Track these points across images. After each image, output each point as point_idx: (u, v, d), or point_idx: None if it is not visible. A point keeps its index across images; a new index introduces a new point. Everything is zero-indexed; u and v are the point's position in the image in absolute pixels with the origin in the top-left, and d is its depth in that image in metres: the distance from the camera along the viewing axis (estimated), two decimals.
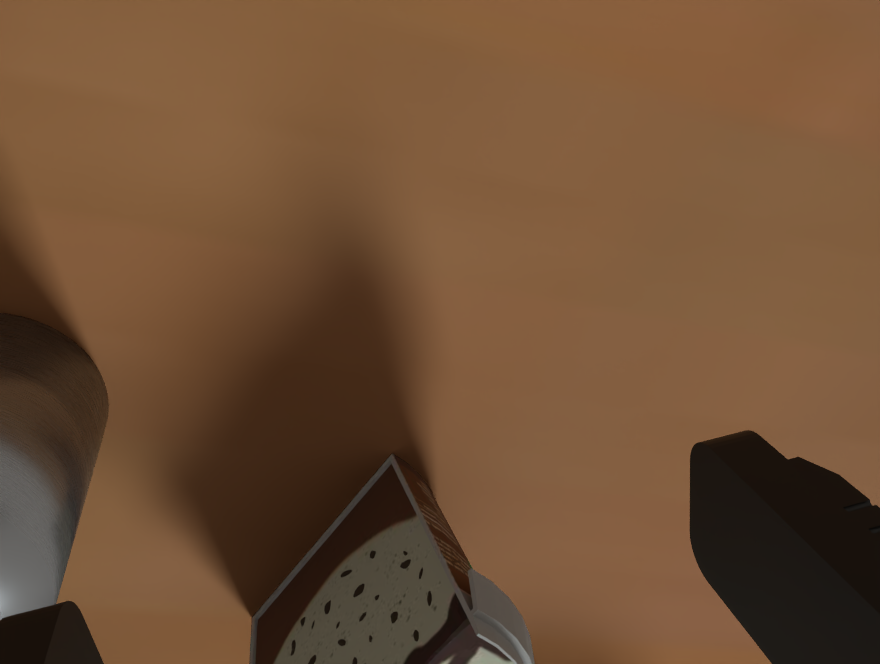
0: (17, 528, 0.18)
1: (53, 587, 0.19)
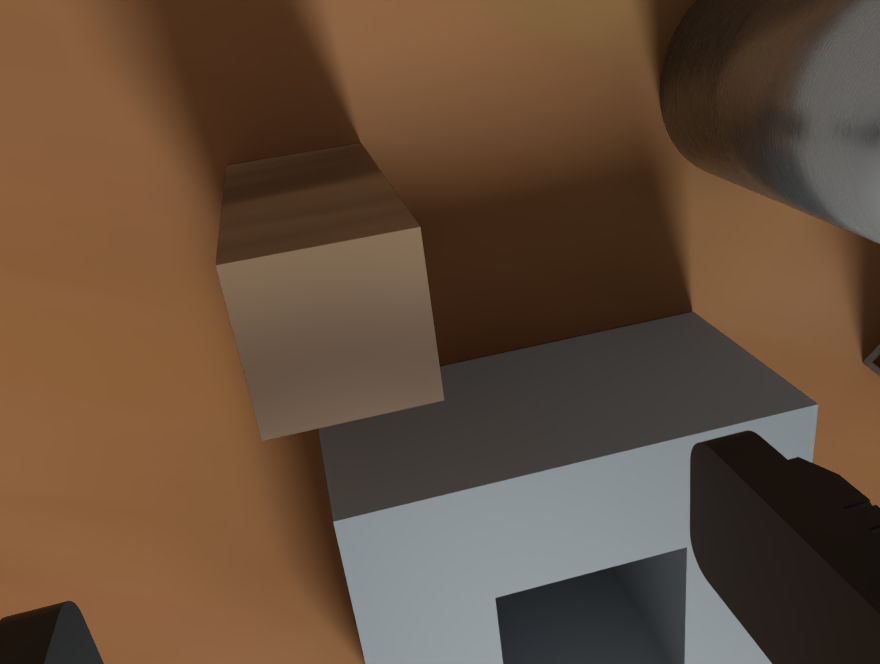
0: None
1: None
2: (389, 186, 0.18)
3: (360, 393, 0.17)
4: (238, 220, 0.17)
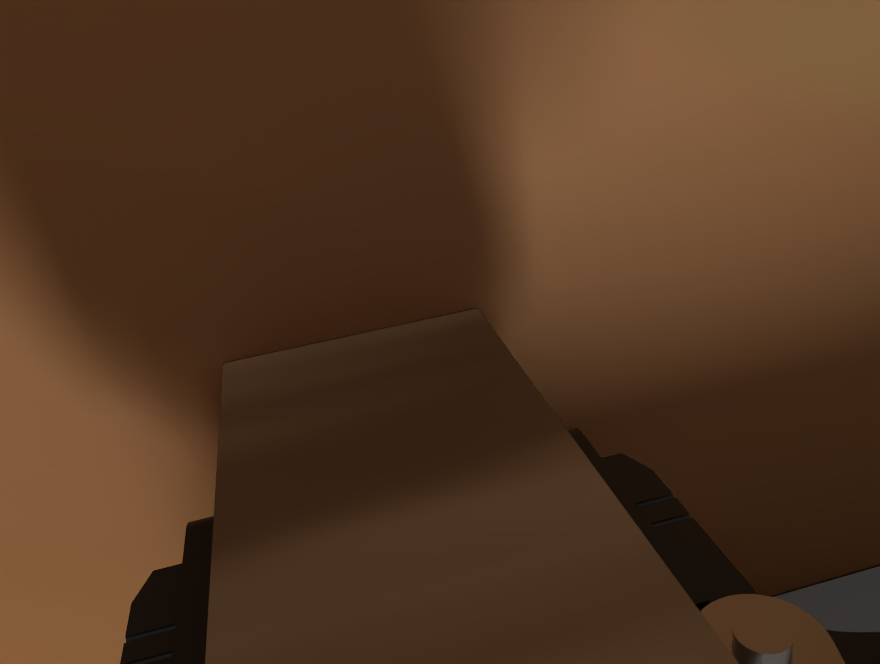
0: None
1: None
2: (629, 522, 0.07)
3: None
4: None
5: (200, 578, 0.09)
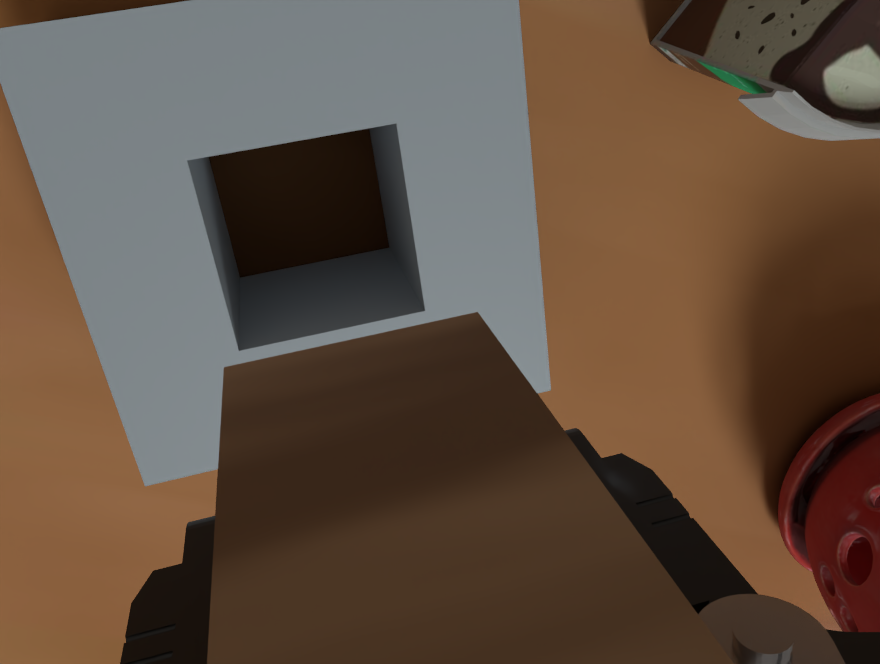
0: None
1: None
2: (629, 527, 0.07)
3: None
4: None
5: (200, 578, 0.09)
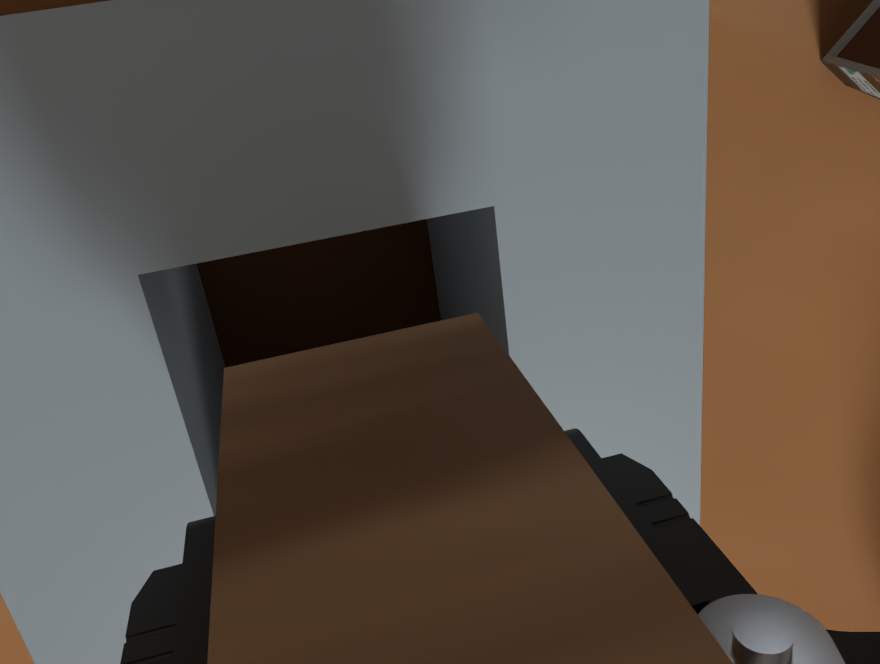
0: None
1: None
2: (629, 528, 0.07)
3: None
4: None
5: (200, 578, 0.09)
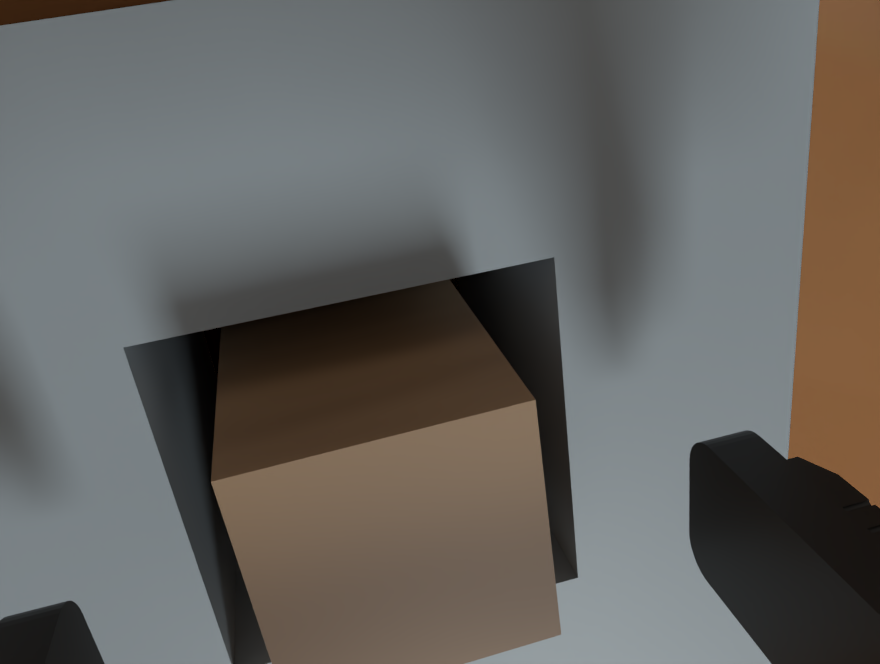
0: None
1: None
2: (462, 301, 0.13)
3: (437, 638, 0.11)
4: (245, 368, 0.12)
5: None
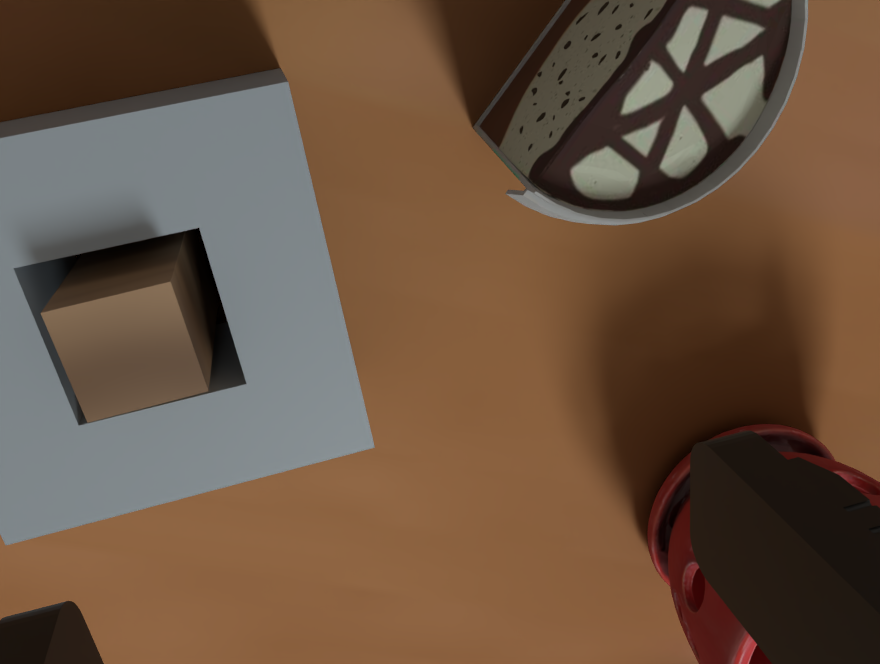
0: None
1: None
2: (178, 251, 0.28)
3: (149, 389, 0.26)
4: (73, 281, 0.27)
5: None
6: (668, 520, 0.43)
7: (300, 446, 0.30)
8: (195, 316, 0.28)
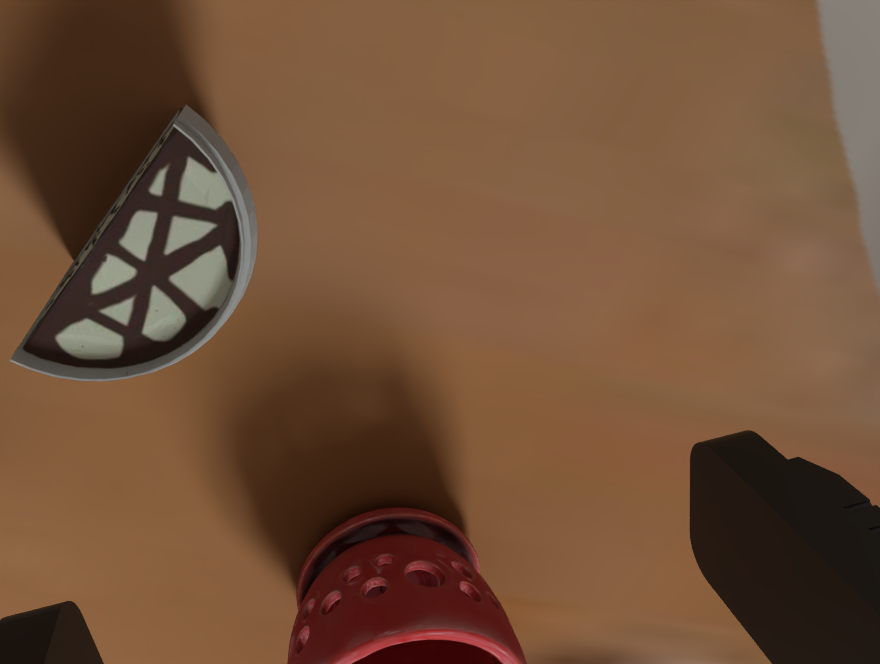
0: None
1: None
2: None
3: None
4: None
5: None
6: None
7: None
8: None
